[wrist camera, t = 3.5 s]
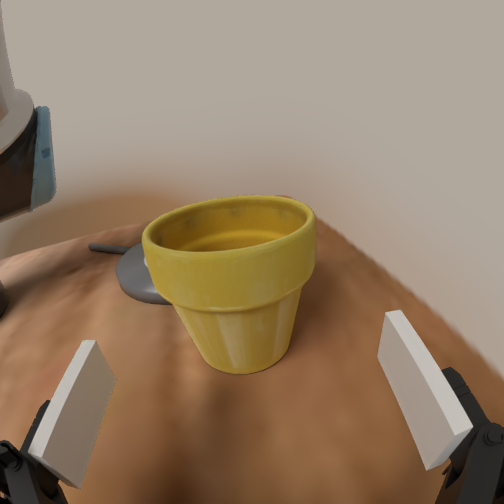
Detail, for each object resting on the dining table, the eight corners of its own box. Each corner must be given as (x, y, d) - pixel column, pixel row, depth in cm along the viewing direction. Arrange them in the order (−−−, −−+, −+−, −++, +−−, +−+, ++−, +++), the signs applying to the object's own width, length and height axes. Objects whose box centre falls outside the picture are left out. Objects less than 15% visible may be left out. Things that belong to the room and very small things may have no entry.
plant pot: (306, 297, 26) (301, 187, 22) (326, 388, 17) (334, 242, 13) (191, 306, 27) (167, 202, 23) (164, 396, 17) (110, 263, 13)
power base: (48, 275, 36) (45, 266, 36) (128, 227, 51) (126, 219, 51) (222, 319, 25) (219, 304, 24) (287, 234, 40) (287, 223, 39)
